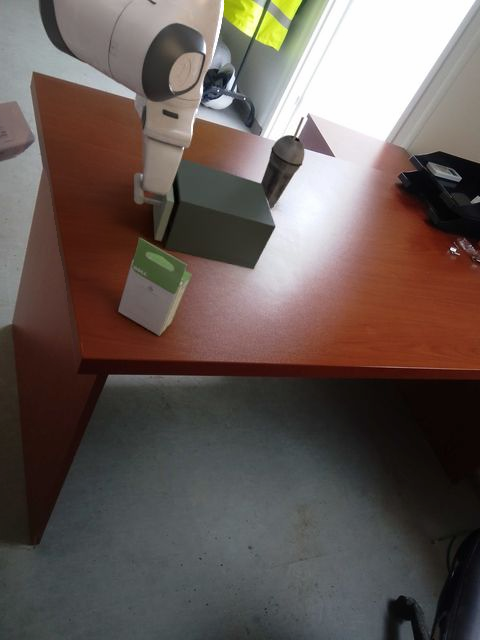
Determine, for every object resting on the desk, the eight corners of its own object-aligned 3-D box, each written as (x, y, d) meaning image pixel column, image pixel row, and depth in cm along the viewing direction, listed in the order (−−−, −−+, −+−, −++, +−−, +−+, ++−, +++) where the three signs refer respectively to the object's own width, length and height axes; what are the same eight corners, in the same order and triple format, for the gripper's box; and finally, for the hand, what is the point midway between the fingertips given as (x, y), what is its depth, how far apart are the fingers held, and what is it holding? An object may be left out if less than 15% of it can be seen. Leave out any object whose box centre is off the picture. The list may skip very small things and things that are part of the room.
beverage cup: (284, 207, 106) (327, 125, 93) (269, 214, 101) (311, 128, 88) (261, 189, 107) (300, 105, 94) (244, 195, 102) (282, 107, 89)
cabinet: (164, 249, 78) (181, 200, 71) (161, 203, 86) (175, 156, 80) (253, 269, 85) (275, 226, 78) (242, 225, 93) (261, 183, 87)
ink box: (172, 322, 67) (201, 252, 58) (159, 337, 64) (187, 266, 55) (132, 298, 67) (154, 224, 58) (116, 312, 64) (137, 236, 55)
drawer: (127, 233, 75) (138, 192, 70) (128, 191, 83) (137, 151, 77) (239, 259, 83) (256, 224, 78) (230, 219, 91) (245, 184, 86)
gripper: (144, 68, 72) (128, 149, 81) (145, 129, 59) (126, 217, 68) (183, 82, 74) (163, 160, 84) (192, 144, 62) (168, 227, 71)
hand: (146, 186), depth 76 cm, fingers closed, pressing on drawer
